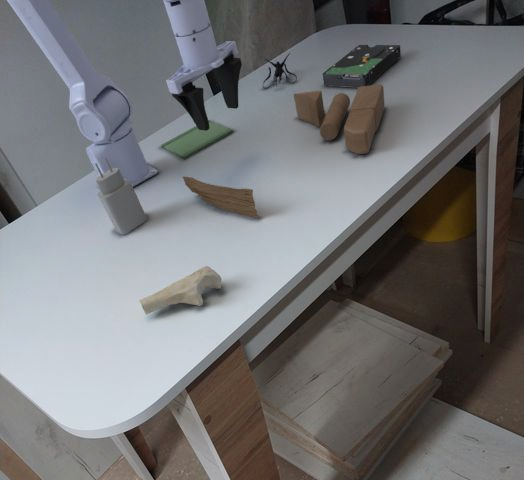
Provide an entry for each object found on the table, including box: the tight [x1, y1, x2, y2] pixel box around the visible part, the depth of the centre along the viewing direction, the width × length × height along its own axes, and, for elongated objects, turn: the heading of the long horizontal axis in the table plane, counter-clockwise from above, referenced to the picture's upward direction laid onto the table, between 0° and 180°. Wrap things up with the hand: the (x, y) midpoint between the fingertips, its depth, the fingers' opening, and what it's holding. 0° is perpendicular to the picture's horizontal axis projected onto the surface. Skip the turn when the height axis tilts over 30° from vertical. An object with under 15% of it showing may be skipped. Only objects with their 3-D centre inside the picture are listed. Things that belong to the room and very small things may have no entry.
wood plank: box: [182, 176, 260, 220], centre depth 85 cm, size 15×2×5 cm, turn 49°
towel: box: [160, 119, 234, 160], centre depth 108 cm, size 12×10×1 cm
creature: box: [262, 52, 298, 90], centre depth 117 cm, size 8×5×8 cm
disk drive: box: [322, 44, 402, 89], centre depth 111 cm, size 10×3×15 cm
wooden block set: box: [293, 84, 385, 155], centre depth 94 cm, size 17×6×18 cm
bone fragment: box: [138, 265, 222, 315], centre depth 71 cm, size 5×11×4 cm, turn 111°
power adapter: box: [95, 157, 148, 236], centre depth 86 cm, size 3×5×12 cm, turn 134°
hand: (218, 118), depth 88 cm, fingers open, 7 cm apart
